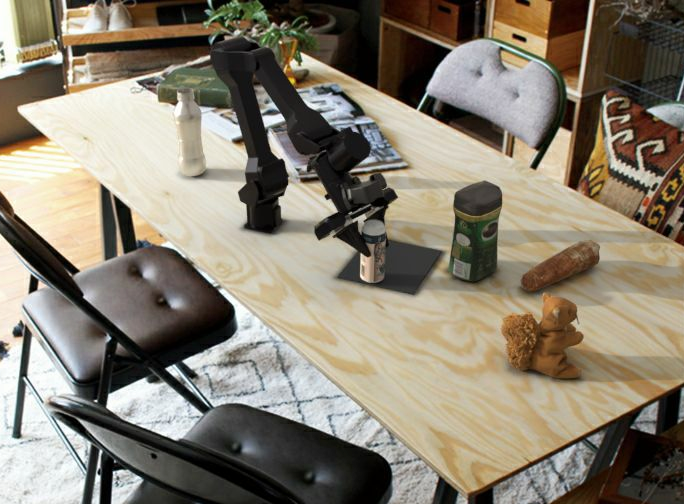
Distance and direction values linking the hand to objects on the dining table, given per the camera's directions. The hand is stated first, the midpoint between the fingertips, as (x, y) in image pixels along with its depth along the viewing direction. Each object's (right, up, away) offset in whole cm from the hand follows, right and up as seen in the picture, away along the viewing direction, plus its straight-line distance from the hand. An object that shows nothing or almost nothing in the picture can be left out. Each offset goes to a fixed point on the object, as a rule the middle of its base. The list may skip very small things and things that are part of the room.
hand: (378, 251), depth 199 cm
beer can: (-1, -5, +5) cm, 7 cm away
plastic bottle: (-43, +23, +42) cm, 64 cm away
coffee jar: (+19, -3, +9) cm, 21 cm away
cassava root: (+36, -5, +7) cm, 37 cm away
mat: (+3, -1, +10) cm, 10 cm away
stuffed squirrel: (+28, -22, -16) cm, 39 cm away
